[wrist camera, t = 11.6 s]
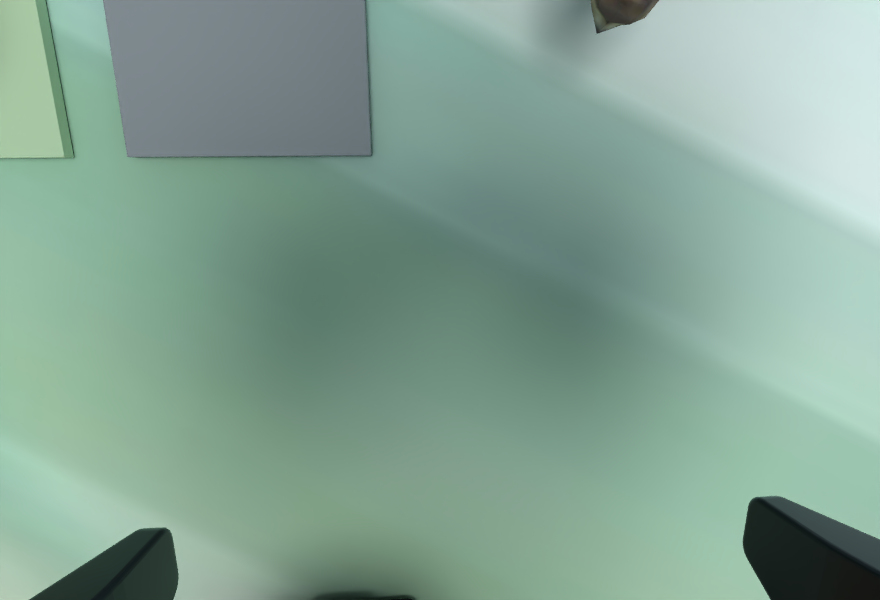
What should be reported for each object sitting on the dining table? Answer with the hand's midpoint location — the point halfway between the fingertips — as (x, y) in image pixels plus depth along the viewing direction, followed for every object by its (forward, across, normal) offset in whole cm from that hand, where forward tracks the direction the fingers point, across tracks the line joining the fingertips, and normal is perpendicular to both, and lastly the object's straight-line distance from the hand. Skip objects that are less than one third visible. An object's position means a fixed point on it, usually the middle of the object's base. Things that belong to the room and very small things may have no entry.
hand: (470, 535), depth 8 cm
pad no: (+12, +6, -10) cm, 17 cm away
